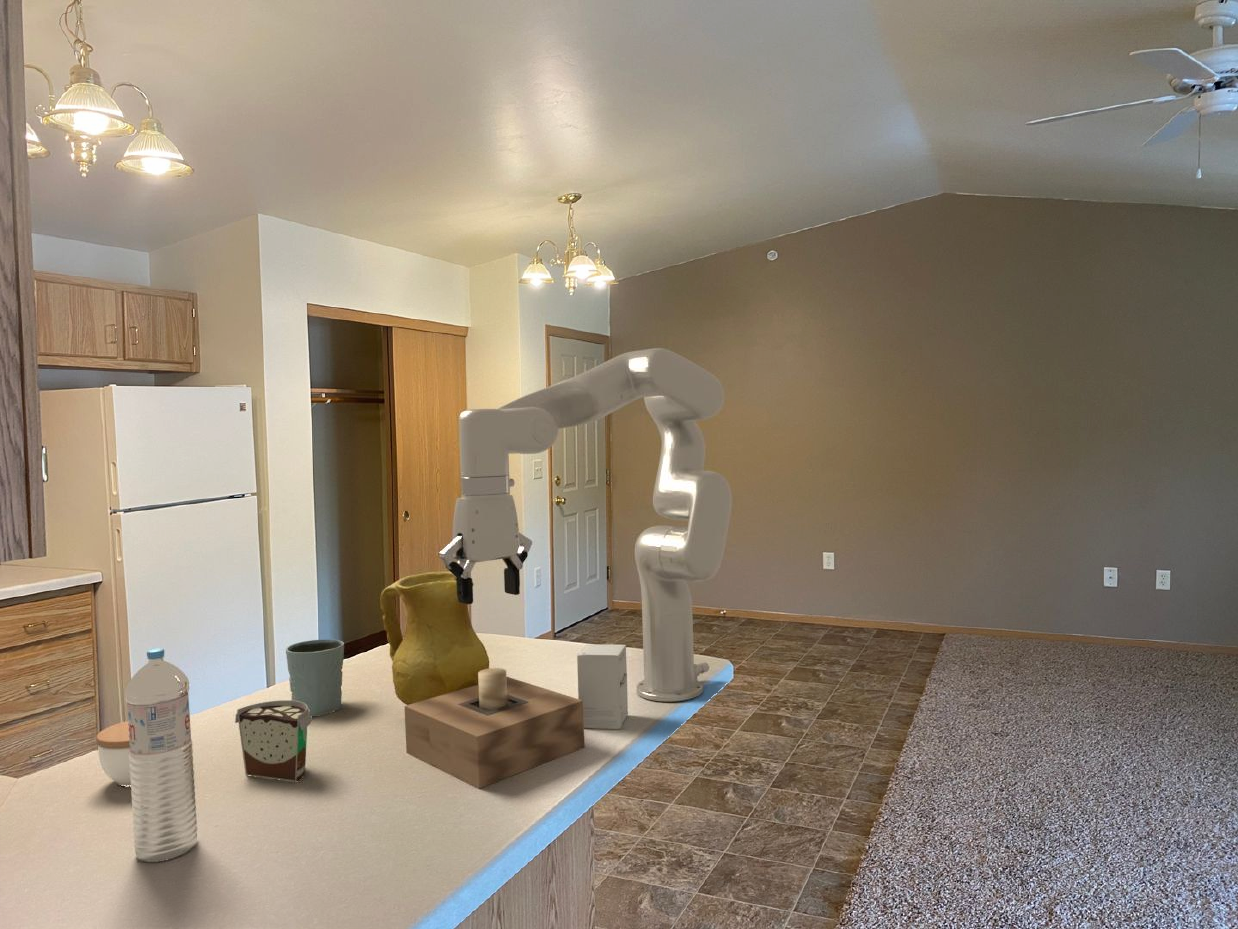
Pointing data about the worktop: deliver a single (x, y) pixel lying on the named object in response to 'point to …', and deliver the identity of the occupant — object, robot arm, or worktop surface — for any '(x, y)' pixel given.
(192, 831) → the water bottle
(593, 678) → the supplement box
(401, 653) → the pitcher
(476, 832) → the worktop surface
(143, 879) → the worktop surface
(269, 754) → the food container
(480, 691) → the peg
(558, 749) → the peg block
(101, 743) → the lidded jar
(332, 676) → the grey-green cup
